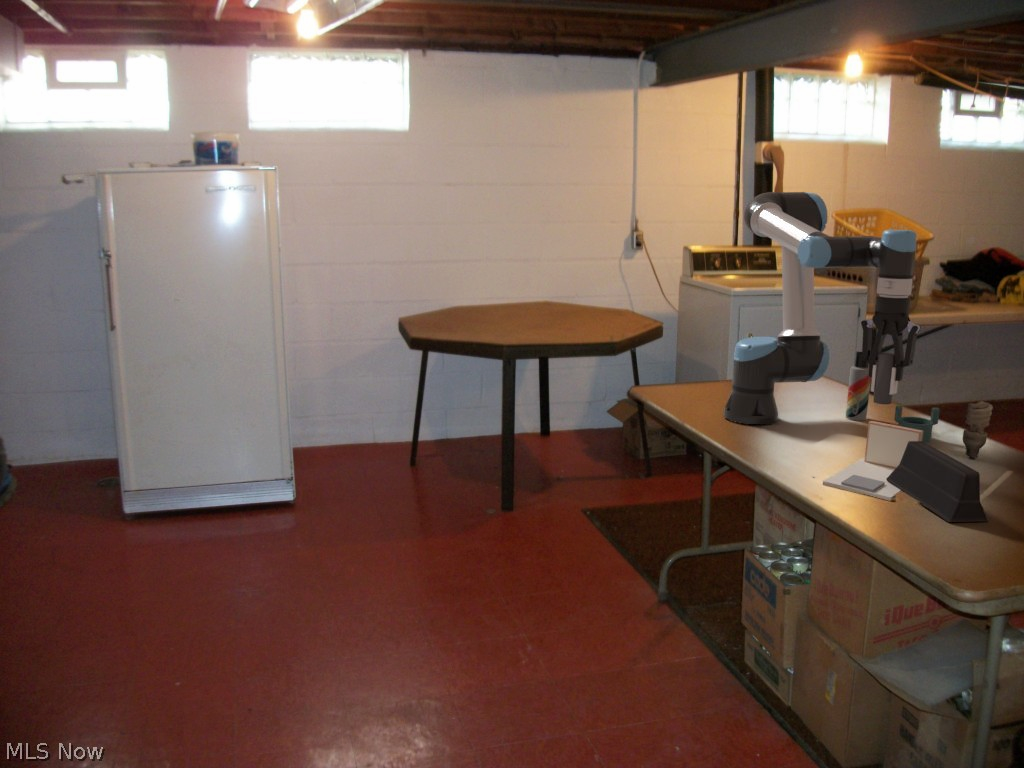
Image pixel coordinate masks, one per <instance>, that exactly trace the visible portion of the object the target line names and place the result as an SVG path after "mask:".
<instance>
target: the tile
mask: <svg viewBox="0 0 1024 768" xmlns="http://www.w3.org/2000/svg"><path fill="white" fill-rule="evenodd" d="M922 438H923V431H922V430H917V429H912V428H907V427H901V426H898V425H896V424H888V423H884V422H879V421H873V420H870V421H868V425H867V435H866V444H865V454H864V457H865V460H864V462H868V463H872V464H877V465H881V466H886V467H890V468H895V469H896V468H897V466H898V465H899V464H900V462H901V459H902V457H903V454H904V452H905V449H906V446H907V444H908V441H922Z"/></svg>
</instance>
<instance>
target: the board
mask: <svg viewBox="0 0 1024 768" xmlns="http://www.w3.org/2000/svg"><path fill="white" fill-rule="evenodd" d="M864 460H865V456H863V457H862V458H860V459H858V460H856V461H854V462H853V463H852V464H850V465H847V466H846V467H845V468H842V469H841V470H839V471H838V472H836V473H833V475H831V476H829V477H827V478H826V479H824V480H822V485H824V486H827V487H831V488H837V489H840V490H844V491H848V492H852V491H853V493H856V492H857V494H860V493H861V494H860V495H864V494H866V495H865V496H868V495H870V496H869V497H872V496H873V498H876V497H877V499H881V500H885V501H889V502H891V501H893V500H894V499H895V498H897V496H895V495H897V494H898V493H900V492H902V491H901V490H900V489H898V488H897V487H895V486H894V485H892V484H891V483H889V482H888V481H887V480H886V479H887V478H888V476H889V475H890V474H891V473H892V472H893V471H894V470H895V468H890V467H886V466H881V465H877V464H872V463H868V462H864Z"/></svg>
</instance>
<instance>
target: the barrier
mask: <svg viewBox="0 0 1024 768" xmlns="http://www.w3.org/2000/svg"><path fill="white" fill-rule="evenodd" d="M886 480H887V481H888V482H889V483H891V484H892V485H894V486H895V487H897V488H898V489H900V490H901V491H900V492H903V493H904V494H907V495H908V496H909V497H910V498H913V499H914V500H915V501H916V500H917V501H918V503H919V504H921V505H922V506H924V508H925V507H926V508H927V509H928V510H930V511H931V512H932V513H934V514H936V515H937V516H939V517H940V518H942V519H943V520H945V521H946V522H947V523H969V522H971V523H975V522H978V523H979V522H981V523H982V522H989V520H988V518H987V515H986V512H985V510H984V508H983V505H982V503H981V487H980V486H981V483H980V482H981V481H980V480H981V478H980V473H979V471H977V470H975V469H973V468H971V467H970V466H968V465H966V464H964V463H962V462H961V461H960V460H957V459H955V458H954V457H952V456H949V455H948V454H947V453H944V452H943V451H940V450H939V449H937V448H936V447H933V446H932V445H930V444H929V443H925V442H923V441H908V444H907V446H906V449H905V452H904V454H903V457H902V459H901V462H900V464H899V465H898V466H897V468H896V469H895V470H894V471H893V472H892V473H891V474H890V475H889V476H888V478H887V479H886Z"/></svg>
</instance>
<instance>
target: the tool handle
mask: <svg viewBox="0 0 1024 768" xmlns="http://www.w3.org/2000/svg"><path fill="white" fill-rule="evenodd" d="M895 366H896V364H895V354H894V352H880V353H878V362H877V372H876V382H875V391H874V392H873V403H875V404H878V405H891V404H892V399H893V395H891V394H889V393H890V383H891V374H892V368H893V367H895Z"/></svg>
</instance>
